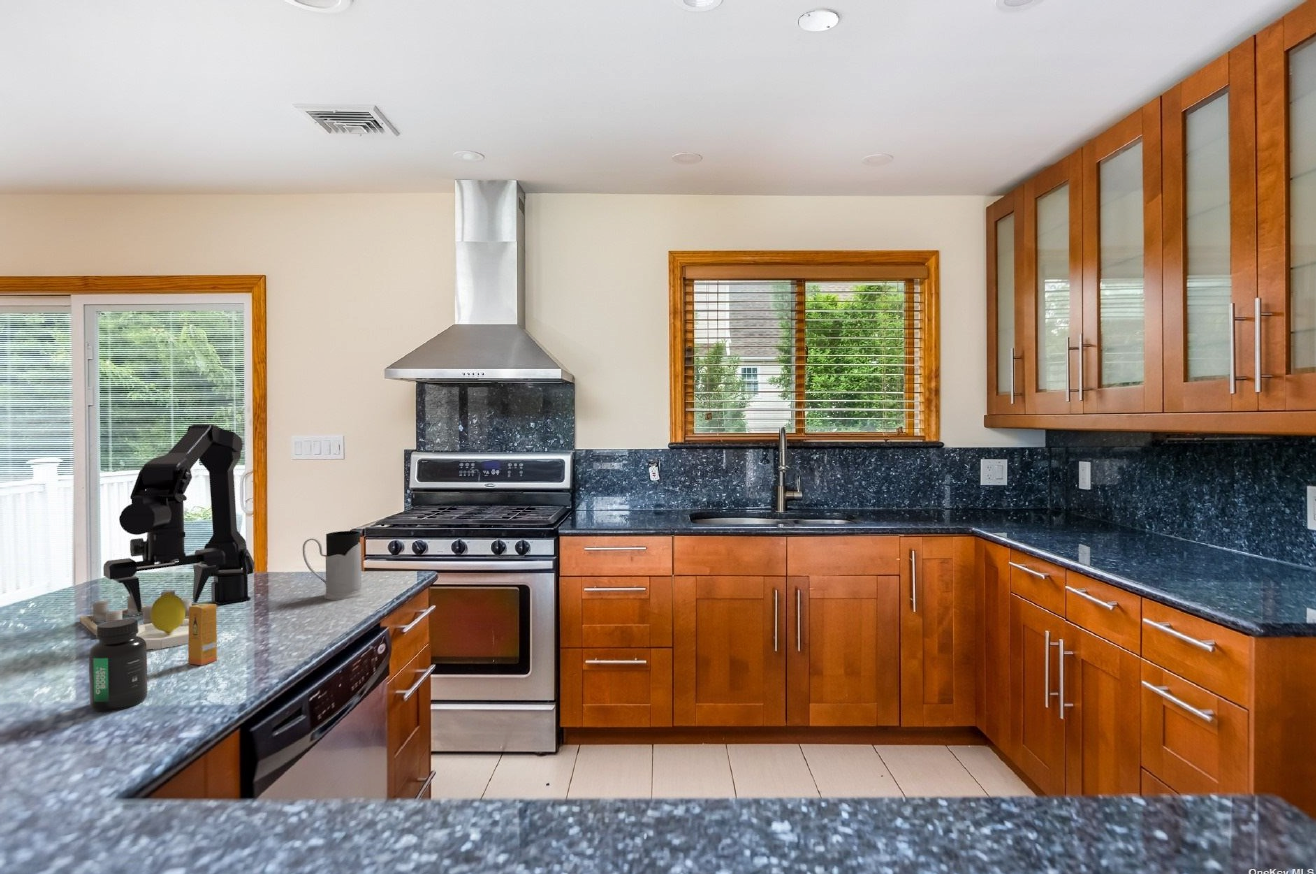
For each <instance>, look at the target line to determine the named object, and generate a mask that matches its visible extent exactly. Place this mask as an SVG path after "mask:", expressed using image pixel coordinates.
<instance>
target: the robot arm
mask: <svg viewBox="0 0 1316 874" xmlns="http://www.w3.org/2000/svg"><path fill="white" fill-rule="evenodd" d="M186 431H187V432H186V433H185V434H184V435H183V436H182V437H181V438H180V440H178V441H177V442H176V443H175V445H174V446H173V447H172V448H171V449H170V450H169V451H168V452H167V453H165V454H163V455H160V456H157V457H154V458H152V459H150V460H148V461H147V462H146V463H145V464H144V465H143V466H142V467H141V468H140V470H139V472H138V475H137V477H136V480H135V483H134V485H133V488H132V490H131V494H130V496H129V497H130V500H131V504H129V505H127V506H126V507H125V508H123V509H122V511H121V513H120V515H119V525H120V526H121V528H122V529H123V530H124V531H125V532H126V533H128V534H131V535H135V536H138V535H143V534H146V540H144V538H143V537H140V538H132V539H129V540H130V542H129V552H130V556H131V557H133V558H134V557H140V556H142V560H139V561H136V560H134V559H132V558H130V557H128V558H126V557H125V558H119V559H109V560H106V562H105V563H104V564H103V567H102V568H103V569H102V570H103V576H104V577H105V578H107V579H108V580H113V581H115V582H117V583H118V584H122V585H123V586H124V588H125V589H126V590H127V592H128V594H129V596H130V597H131V599H132V601H133V604H134V606H135V608H136V610H137V612H141V596H140V595H141V585H140V579H139V577H137V576H136V574H137V572H143V571H149V570H158V569H165V568H171V567H172V568H173V567H180V566H188V565H192V566H193V567H192V568H193V569H192V570H193V586H192V603H195V604H197V603H198V602H199V599H200V596H201V595H202V592H203V590H204V588H205V585H206V583H207V582H208V580H209V578H210V577H213V581H212V582H211V583H210V587H211V588H210V589H211V590H210V592H211V594H210V595H211V597H210V598H211V599H210V600H211V601H212V602H213V603H215V604H217V605H227V604H233V603H239V602H243V601H248V600H249V601H250V600H252V599H251V597H252V596H251V597H250V596H249V583H248V580H249V579H248V578H249V577H248V576H249V575H251V574H254V573H255V570H254V569H255V561H254V559H253V557H252V555H251V554H250V551H249V549H248V547H247V541H246V539H245V538H244V536H242V535H241V533H240V532H239V531H238V527H237V525H238V524H237V509H236V508H237V506H236V493H235V492H236V491H235V490H236V489H235V474H234V469H235V467H236V466H237V464H238V463H239V461H240V460H241V457H242V450H243V445H244V444H243V440H242V438H241V436H239V435H238V434H237V433H236V432H234V431H231V430H228V429H224V428H221V427H219V425H216V424H215V425H214V424H213V423H193V424H191V425H189V426H188V427H187V430H186ZM198 461H199V462H200V463H201V464H202V465H203V467H204V468H205V469H206V470H207V471H208V474H209V475H208V477H209V479H208V480H209V492H210V493H209V494H210V504H211V505H210V508H211V521H212V536H210V539H209V540H208V541H207V543H206V544H204V548H200V549H195V551H194V554H188V555H186V552H185V538H186V531H185V518H184V517H185V515H184V514H185V512H184V509H185V508H184V507H185V506H184V502H185V501H187V500H188V499H187V498H188V497H187V496H186V495H185V493H186V491H187V489H188V486H189V485H190V483H191V481H192V479H193V475H192V471H191V469H192V468H193V467H194V465H195V464H196V463H197V462H198Z"/></svg>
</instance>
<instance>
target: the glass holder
mask: <svg viewBox="0 0 1316 874" xmlns="http://www.w3.org/2000/svg"><path fill="white" fill-rule="evenodd" d="M309 541H314V542H316V543H317V544H318V547H319V554H320V556H322V557H324V558H325V578H324V577H323V576H321V575H320V574H318V573H317V572H316V571H315V570H314V568H312V566H311V565H310V563H309V561H308V558H307V555H306V545H307V542H309ZM325 541H326V542H325V545H326V547H325V548H326V549H325V550H326V551H325V552H326V553H325V554H324V553H323V547H322V543H321V542H320V541H319V540H318V539H317V538H315V537H313V538H308V539H306V540H305V541H304V542H303V544H302V557H303V560H304V562H305V565H306V566H307V568H308V569H309V571H310V572H311V573H312V574H313V575H315V577H317V578H319V580H321V581H322V582H323V583H324V584H325V593H324V595H323V598H324V599H326V600H327V599H328V600H333V601H334V600H337V601H338V600H348V599H355V598H358V597H361V596H363V595H364V590H363V588H362V544H361V532H360V531H357V530H355V531H354V530H343V531H341V530H340V531H333V532H329V533H326V534H325Z"/></svg>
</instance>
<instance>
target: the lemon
mask: <svg viewBox="0 0 1316 874" xmlns="http://www.w3.org/2000/svg"><path fill="white" fill-rule="evenodd" d="M182 600H183V599H182V598H181V597H180V596H178V595H176V594H175V595H173V594H170V593H165V595H163V596H161V595H160V597H158V598H157V599H155V601H154V602H153V604H152V605H153V606H152V609H151V621H152V624H153V625H154V627H155V628H157V629H158V630H161V631H164V632H165V633H167V634H170V633H171V632H172V631H173V630H174V629H176V628H178V627H179V626H180V625H181V624H182V622H183V621H184V618H185V606H184V603H183V601H182Z"/></svg>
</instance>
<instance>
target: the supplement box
mask: <svg viewBox="0 0 1316 874" xmlns="http://www.w3.org/2000/svg"><path fill="white" fill-rule="evenodd" d="M217 606H218V603H215V604H214V603H198V604H197V603H196V604H194V605H193V604H192V606H189V637H188V644H187V645H188V649H187V650H188V654H187V655H188V656H187V657H188V658H187V659H188V660H187V664H189V665H197V666H205V665H208V664H210V663H213V662H217V661H218V655H217V654H218V653H217V652H218V651H217V650H218V648H217V647H218V645H217V644H218V641H217V639H218V638H217V637H218V636H217V635H218V633H217V631H218V630H217V626H218V625H217V624H218V621H217V620H218V618H217V616H218V615H217V612H218V611H217V609H218V608H217Z"/></svg>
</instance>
